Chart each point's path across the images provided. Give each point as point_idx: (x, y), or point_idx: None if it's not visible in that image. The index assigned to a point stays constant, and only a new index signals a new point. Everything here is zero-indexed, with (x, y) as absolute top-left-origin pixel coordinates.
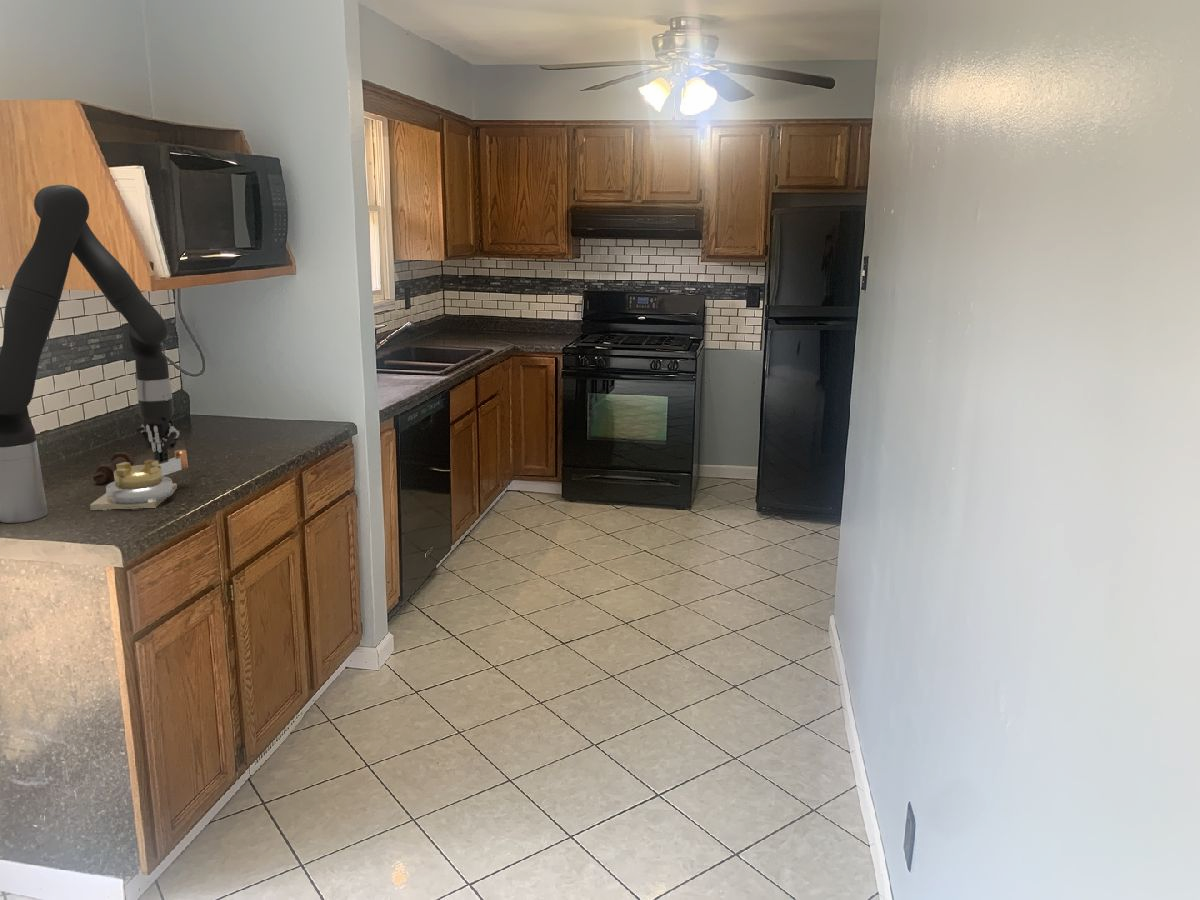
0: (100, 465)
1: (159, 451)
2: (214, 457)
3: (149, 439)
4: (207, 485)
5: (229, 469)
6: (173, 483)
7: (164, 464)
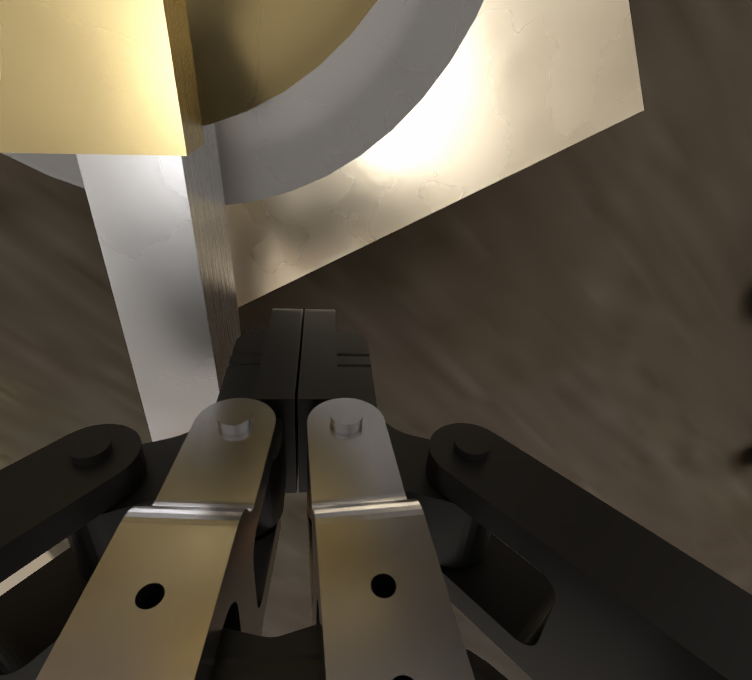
0: None
1: (237, 407)
2: (490, 662)
3: (411, 542)
4: (139, 408)
5: (294, 602)
6: (252, 298)
7: (117, 264)
